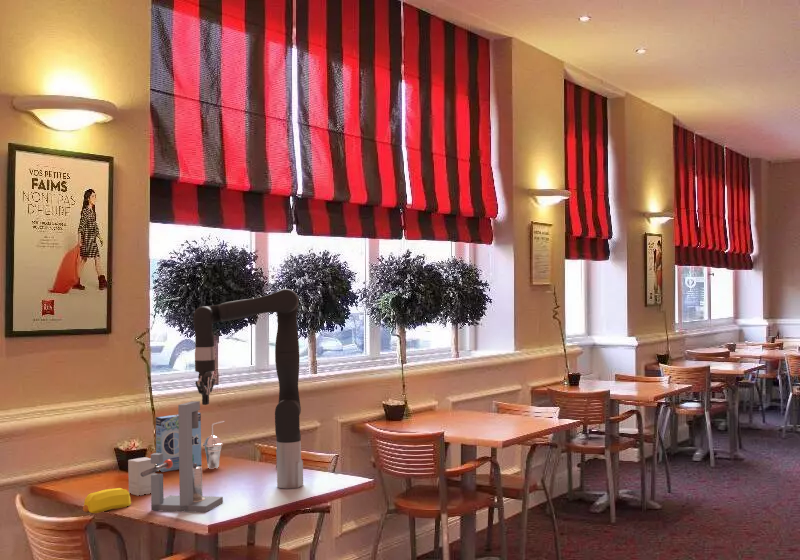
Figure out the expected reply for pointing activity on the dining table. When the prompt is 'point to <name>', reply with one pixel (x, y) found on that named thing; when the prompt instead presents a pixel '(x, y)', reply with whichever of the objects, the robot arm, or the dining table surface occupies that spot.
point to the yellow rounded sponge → (106, 500)
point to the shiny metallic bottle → (197, 482)
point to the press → (181, 469)
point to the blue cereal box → (175, 440)
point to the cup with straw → (213, 449)
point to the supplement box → (139, 476)
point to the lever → (158, 468)
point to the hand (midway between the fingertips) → (205, 404)
